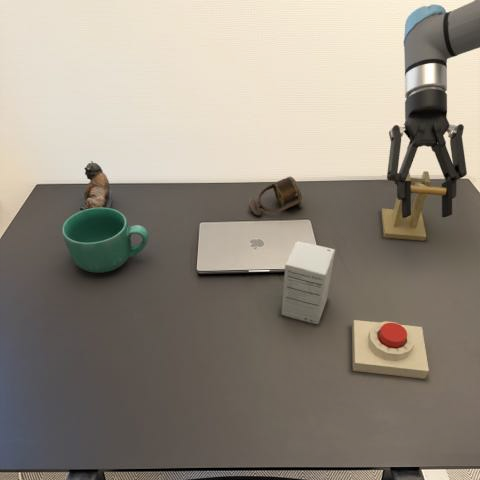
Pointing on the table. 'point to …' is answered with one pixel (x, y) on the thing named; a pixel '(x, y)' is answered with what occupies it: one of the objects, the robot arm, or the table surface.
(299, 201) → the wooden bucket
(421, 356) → the button base
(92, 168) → the brown figurine
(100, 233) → the mug
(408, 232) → the wooden lever device
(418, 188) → the lever
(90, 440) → the table surface
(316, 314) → the white packaging box
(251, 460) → the table surface
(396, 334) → the button
